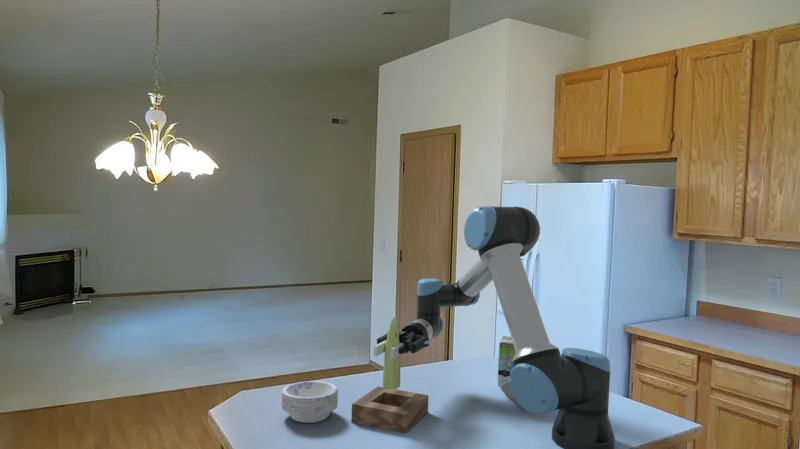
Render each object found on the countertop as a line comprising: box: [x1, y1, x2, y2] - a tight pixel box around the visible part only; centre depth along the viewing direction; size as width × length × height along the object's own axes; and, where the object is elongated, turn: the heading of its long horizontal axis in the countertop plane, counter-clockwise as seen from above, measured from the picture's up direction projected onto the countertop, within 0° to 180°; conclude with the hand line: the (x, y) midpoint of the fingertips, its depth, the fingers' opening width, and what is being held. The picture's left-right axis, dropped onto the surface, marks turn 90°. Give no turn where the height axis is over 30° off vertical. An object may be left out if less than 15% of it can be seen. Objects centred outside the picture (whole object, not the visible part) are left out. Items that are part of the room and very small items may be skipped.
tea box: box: [497, 335, 516, 386], centre depth 184 cm, size 15×10×15 cm, turn 73°
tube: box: [382, 314, 401, 390], centre depth 152 cm, size 6×5×20 cm
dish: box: [499, 381, 520, 406], centre depth 164 cm, size 18×14×5 cm
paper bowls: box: [281, 380, 339, 424], centre depth 152 cm, size 15×15×8 cm
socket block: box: [351, 386, 429, 434], centre depth 153 cm, size 16×16×5 cm
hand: (383, 352), depth 147 cm, fingers closed on tube, 4 cm apart
